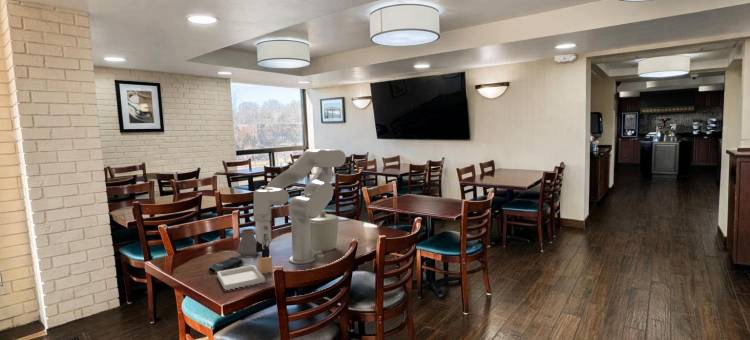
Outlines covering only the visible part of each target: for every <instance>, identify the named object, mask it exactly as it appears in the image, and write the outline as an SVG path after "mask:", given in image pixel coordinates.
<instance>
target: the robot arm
mask: <svg viewBox="0 0 750 340" xmlns="http://www.w3.org/2000/svg"><path fill="white" fill-rule="evenodd" d="M346 160H347V157H346V154H345V151H343V150H341V149H329V148H328V149H326V148H325V149H316V148H314V149H313V148H312V149H311V148H310V149H309V148H308V149H306V150H305V151H303V152H302V153H301V154H300V156H298V158H297V160H295V161H294V162H293V164H292V165H291V166H290V167H289V168H287V169H286V170H285V171H283V172H282V173H280V174H278V175H276V176H275V177H274V178H272V180H270V182H269V183H268V184H267V185H266V186H265V187H264V189H256V190H255V191H253V222H255V227H254V228H255V229H254V231H255V232H254V233H255V235H254V237H255V239H256V252H258V253H261V255H262V258H266V257H269V255H270V244H271V243H272V228H271V227H272V226H271V222H272V206H282V205H286V204H287V203H288V201H289V203H288V211H289V217H290V222H291V247H292V249H291V251H292V256H290V257H289V259H288V261H289V262H290V263H292V264H296V265H301V264H302V265H304V264H308V263H312V262H314V261H315V260H316V255H321V254H322V252H321V250H313V249H312V237H311V221H310V218H311V219H313V218H316V217H317V216H319V215H320V213H321V212H322V211H323V210H324V211H325V208H326V207H327V206H328V204H329V203H330V202H331V201H332V198H333V196H334V191H335V190H334V187H333V185H332V184H331V181H332V180H333V178H334V177H333V168H340V167H342V166H343V165H344V164H345V163H346ZM314 168H317V171H316V173H315V174H314V175H313V177H311V179H310V180H309V181H308V183H307V184H306V185H305V187H304V189H303V190H304V191H303V193H304V196H300V195H299V196H294V197H293V198H291V200H290V194H289V192H288V191H287V190H286V189H284V188H287V187H289V186H291V185H293V184H297V183H299V182H301V181H303V180H305V178H306V177H307V176H308V175H309V173H310V172H311V171H312V170H313V169H314ZM270 221H271V222H270Z"/></svg>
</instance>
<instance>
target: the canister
mask: <svg viewBox="0 0 750 340" xmlns="http://www.w3.org/2000/svg"><path fill="white" fill-rule="evenodd" d="M340 219H341V218H340V217H339V216H337V215H336V214H335V215H334V214H330V213H327V211H326V210H325V209H324V210H323V211H322V212H321V213H320V215H319V216H317V217H316V218H313V219H311V218H310V221H311V237H312V250H321V253H325V252H326V253H327V252H331V251H333V250H335V248H336V246H337V242H338V241H337V240H338V232H339V221H340Z"/></svg>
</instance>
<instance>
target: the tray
mask: <svg viewBox="0 0 750 340" xmlns="http://www.w3.org/2000/svg"><path fill="white" fill-rule="evenodd" d="M216 274H217V275H216V276H217V279H218V281H219V282H220V284H221V287H222V288H223V290H224V289H225V290H224V291H225V292H227V291H226V290H228V291H231V290H230V289H233V290H236V289H235V288H238V289H240V288H239V287H243V288H246V287H245V286H248V287H250V286H249V285H253V286H255V285H254V284H258V285H260V284H259V283H263V282H265V283H266V278H265V275H264V274H261V272H260V271H259V270H258V268H257V266H256V265H253V264H252V265H247V266H246V265H245V266H241V267H234V268H232V269H229V270H224V271H218V272H217V273H216ZM263 284H264V283H263Z"/></svg>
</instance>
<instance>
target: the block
mask: <svg viewBox="0 0 750 340" xmlns="http://www.w3.org/2000/svg"><path fill="white" fill-rule="evenodd" d="M257 267H258V268H257V269H258V270H259V271H260V272H261V274H262V273H265V274H268V273H267V272H270V273H273V258H272V256H271V255H270V254H269V257H266V258H262V254H261V255H257ZM262 275H263V274H262Z"/></svg>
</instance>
